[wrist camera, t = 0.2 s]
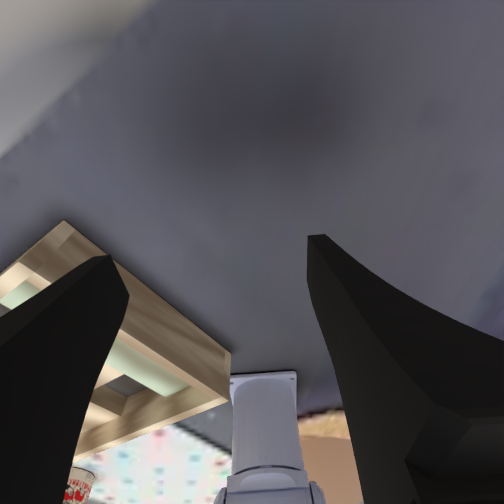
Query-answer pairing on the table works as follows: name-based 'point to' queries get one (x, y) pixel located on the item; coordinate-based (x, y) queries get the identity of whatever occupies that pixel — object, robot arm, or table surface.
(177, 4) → the table surface
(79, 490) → the teacup with lid
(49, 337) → the robot arm
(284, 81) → the table surface
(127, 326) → the trap box
